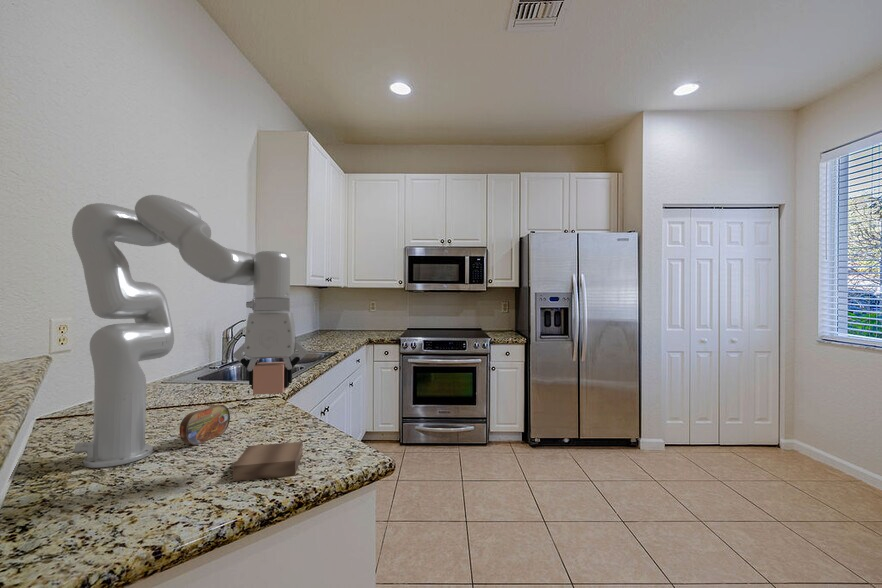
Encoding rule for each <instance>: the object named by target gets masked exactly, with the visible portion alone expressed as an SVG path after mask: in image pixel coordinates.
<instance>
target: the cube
mask: <svg viewBox="0 0 882 588" xmlns="http://www.w3.org/2000/svg"><path fill="white" fill-rule="evenodd" d="M285 367H286V365H285V363H284V361H270V362H269V361H268V362H258V364H256V365H255V366H253V389H252V395H270V394H283V393H284V392H285V391H286V390H287V389H288V388H285V387H284V370H285Z"/></svg>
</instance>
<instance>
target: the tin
mask: <svg viewBox="0 0 882 588" xmlns="http://www.w3.org/2000/svg"><path fill="white" fill-rule="evenodd" d="M185 415H186V416H184V417H183V419H182V420H181V422H180V424H179V437H180V440H181V442H182V443H184V444H186V445H194V446H198V445H202V444H203V442H204V443H206V442H208V441H210V440H213V439H215V438H218V437H219V436H221V435H223V434H224V433H225V432H226V431H227V429H228V427H229V425H230V422H231V421H230V420H231V414H230V410H229V408H228V407H227V406H226V405H225V404H214V405H211V406H207V407H204V408H201V409H198V410H194V411H192V412H189V413H187V414H185Z"/></svg>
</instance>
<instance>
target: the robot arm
mask: <svg viewBox="0 0 882 588" xmlns="http://www.w3.org/2000/svg"><path fill="white" fill-rule="evenodd" d="M134 205H135V206H134V209H131V208H127V207H123V206H119V205H116V204H115V205H114V204H111V203H104V202H103V203H97V202H95V203H90V204H87V205H85V206H82V208H80V209H79V211H77V213H76V214H75V216H74V218H73V222H72V226H71V235H72V241H73V244H74V247H75V249H76V252H77V253H78V256H79V259H80V263H81V264H82V270H83V273H84V280H85V285H86V289H87V294H88V299H89V304H90V307H91V310H92V312H93V314H94V315H95V316H97V317H98V318H100V319H106V320H107V319H108V320H134V322H125V323H122V322H121V323H114V324H108V325H105V326H103V327H99V328H98V330H96V331H95V332H94V333H93V334H92V335H91V337H90V341H89V352H90V357H91V361H92V367H93V372H94V373H93V376H94V378H93V379H94V385H93V387H94V388H93V390H94V391H93V392H94V394H93V395H94V396H93V397H94V398H93V403H94V404H93V437H92V440H91V441H84V442H83V441H82V442H77V443H76V444H75V445H74V450H73V453H74V454H82V453H85V454H86V456H85V457H84V458H83V461H82V462H83V466H84V467H86V468H94V469H99V468H100V469H101V468H110V467H115V466H116V467H117V466H122V465H125V464H129V463H134V462H136V461H139V460H141V459H144V458H146V457H148V456H150V455H151V454H152V453H153V451H154V448H153V445H152V444H151V445H150V444H149V443H146V417H147V415H146V414H147V409H146V407H147V379H146V378H147V377H146V374H145V373H144V370H143V369H142V367H141V365H140V364H139V362H143V361H150V360H156V359H160V358H162V357H165V356H167V355H168V354H170V352H171V351H172V349H173V347H174V344H175V335H174V329H173V324H172V323H173V322H172V319H171V318H172V317H171V315H170V314H171V313H170V308H169V305H168V301H167V300H168V299H167V297H166V294H165V293H164V292H163V291H162V289H161V288H160V287H159V286H157V285H155V284H153V283H151V282H145V281H135V280H134V279H133V277H132V273H131V270H130V264H129V261H128V259H127V258H126V256H125V255H124V253H123V252H122V251H121V249H119V247H118V246H117V244H116V242H118V243H123V244H124V243H125V244H129V245H130V244H131V245H134V246H141V247H156V246H160V245H165V244H171V245H172V246H173V247H175V248H177V249H178V253H179V254H180V257H181V258H182V260H183V262H184V263H185V264H187V265H188V266H189V267H190V268H192V269H193V270H194V271H196V272H197V273H199V274H200V275H202V276H204V277H205V278H207V279H208V280H211V281H213V282H216V283H219V284H228V285H229V284H230V285H238V286H253V294H252V295H253V298H252V300H250V301H246V302H245V303H246V304H245V308H249V309H252V311H253V312H250V313H248V315H247V316H248V317H247V321H246V326H245V327H246V328H245V337H244V343H243V344H241V346H240V347H238V348H237V350H235V352H233V354H232V356H233V357H234V359H236V360H237V361H238V362H240V364H241V365H242V366H243V367H245V368H246V370H247V371H248V385H249V386H250V387H251V390H253V366H255V365H256V364H258V363H259V361H260V360H261V359H282V360H283V361H282V362H284V363H285V365H286V367H285V370H284V387H285V388H287V389H288V388H289V386H290V384H292V383H293V368H294V367H295V366H296V365H297V364H298V363H299V362H300V361H301V360H302V359H304V357H305V356H306V355H308V353H309V351H308V350H307V349H306V348H305V347H304V346H303V345H302V344H301V343H300V342H299V341H298V340H297V338H296V326H295V325H296V324H295V319H294V313H293V312H290V309H291V307H290V306H291V304H290V303H291V302H290V301H291V300H290V299H291V297H290V295H291V294H290V293H291V259H290V258H291V257H290V256H289V254H287V253H285V252H283V251H282V252H281V251H278V250H276V251H275V250H263V251H261V250H260V251H258V252H257V253H255V254H254V253H249V252H245V251H241V250H235V249H231V248H227V247H225V246H223V245H222V244H219V243H218V242H216V241H215V240H213V239H212V238H211V237H212V230H211V227H210V225H209V223H207V222H206V221H205V220H202V217H201V214H200V212H199V211H198V210H197V209H196V208H195V207H193V206H192V205H190V204H189V203H185V202H182V201H179V200H176V199H173V198H170V197H167V196H163V195H160V194H149V195H145V196H143V197H141V198H140V199H138V200H137V201H136V203H135V204H134ZM296 351H297V352H298V354H297V355H296V356H295V357H294V358H293V359H292V357H291V356H293V354H295V353H296Z"/></svg>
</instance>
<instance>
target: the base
mask: <svg viewBox="0 0 882 588" xmlns="http://www.w3.org/2000/svg"><path fill="white" fill-rule="evenodd" d="M303 443H304V442H303V441H294V442H293V441H292V442H283V443H282V442H281V443H270V444H269V443H268V444H257V445H256V444H255V445H253V444H252V445H248V446H247V447H246V449H245V450H244V451H243V452H242V453H241V455H240V456H239V458H238V459H237V460H236V462H235V463H234V464H233V465H232V482H235V481H236V482H238V481H247V480H257V479H268V478H278V477H280V478H281V477H287V476H288V477H289V476H296V475H297V474H296V473H297V472H298V469H299V466H300V463H301V461H302V460H301V459H302V457H303V455H302V454H303V450H304V449H303V445H304V444H303ZM296 471H297V472H296Z"/></svg>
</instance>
